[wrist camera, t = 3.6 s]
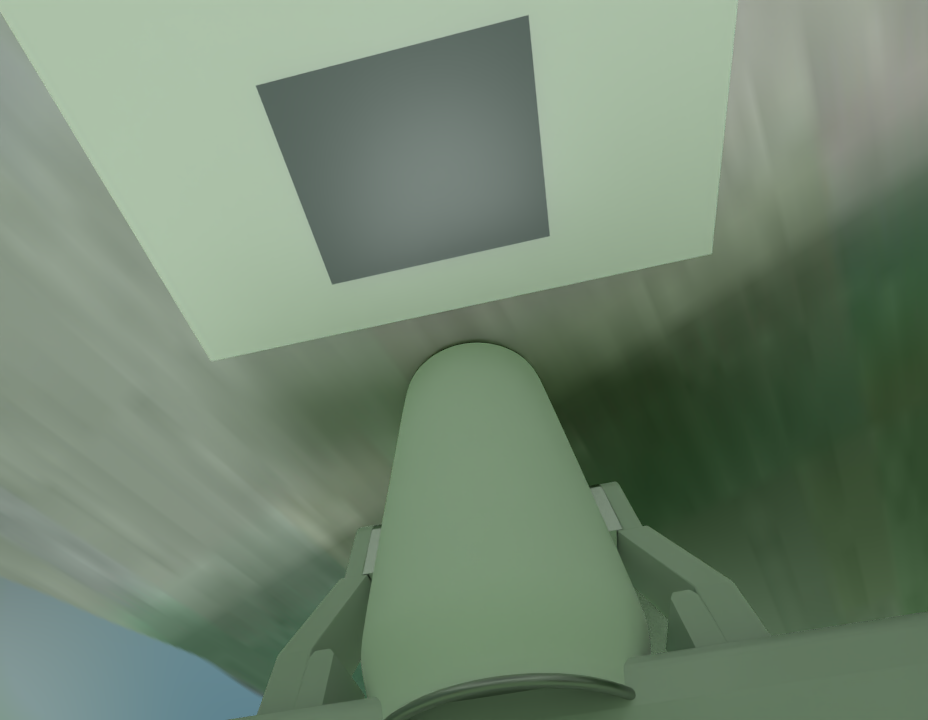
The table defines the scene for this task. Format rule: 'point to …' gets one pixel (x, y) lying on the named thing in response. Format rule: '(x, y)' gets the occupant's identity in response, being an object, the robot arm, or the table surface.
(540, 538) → the can
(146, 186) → the panel
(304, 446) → the table surface
